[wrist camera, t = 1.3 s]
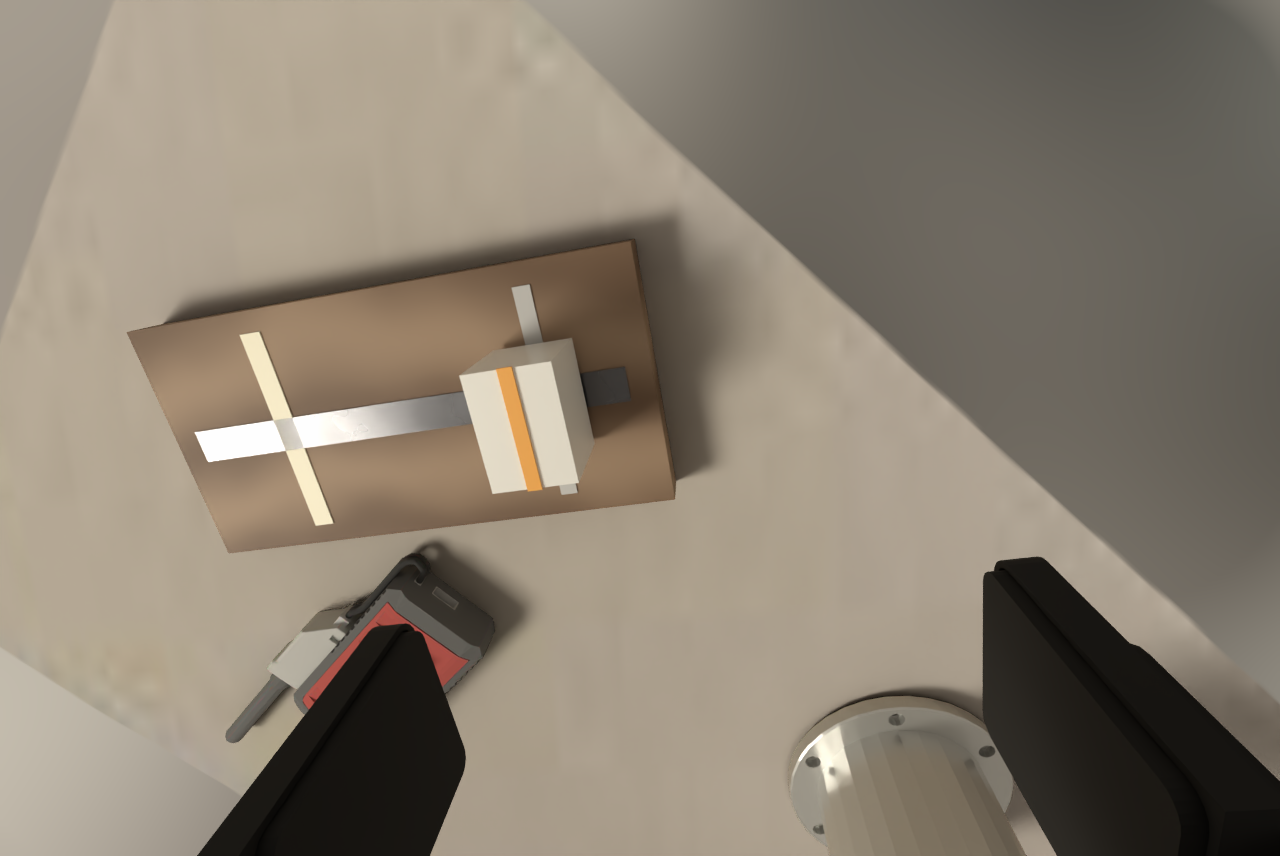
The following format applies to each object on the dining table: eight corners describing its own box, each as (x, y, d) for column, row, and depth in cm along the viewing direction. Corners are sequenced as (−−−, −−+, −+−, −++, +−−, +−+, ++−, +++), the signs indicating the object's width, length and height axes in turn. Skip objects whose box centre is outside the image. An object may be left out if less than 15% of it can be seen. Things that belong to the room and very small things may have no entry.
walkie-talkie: (393, 516, 33) (231, 712, 40) (352, 561, 29) (178, 771, 35) (518, 610, 35) (343, 783, 41) (495, 664, 31) (304, 848, 37)
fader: (594, 444, 28) (578, 485, 24) (520, 454, 28) (492, 495, 24) (571, 336, 26) (549, 360, 22) (493, 349, 27) (457, 375, 23)
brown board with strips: (676, 481, 31) (674, 499, 29) (254, 533, 34) (227, 553, 32) (634, 238, 27) (630, 241, 25) (161, 324, 30) (125, 332, 28)
